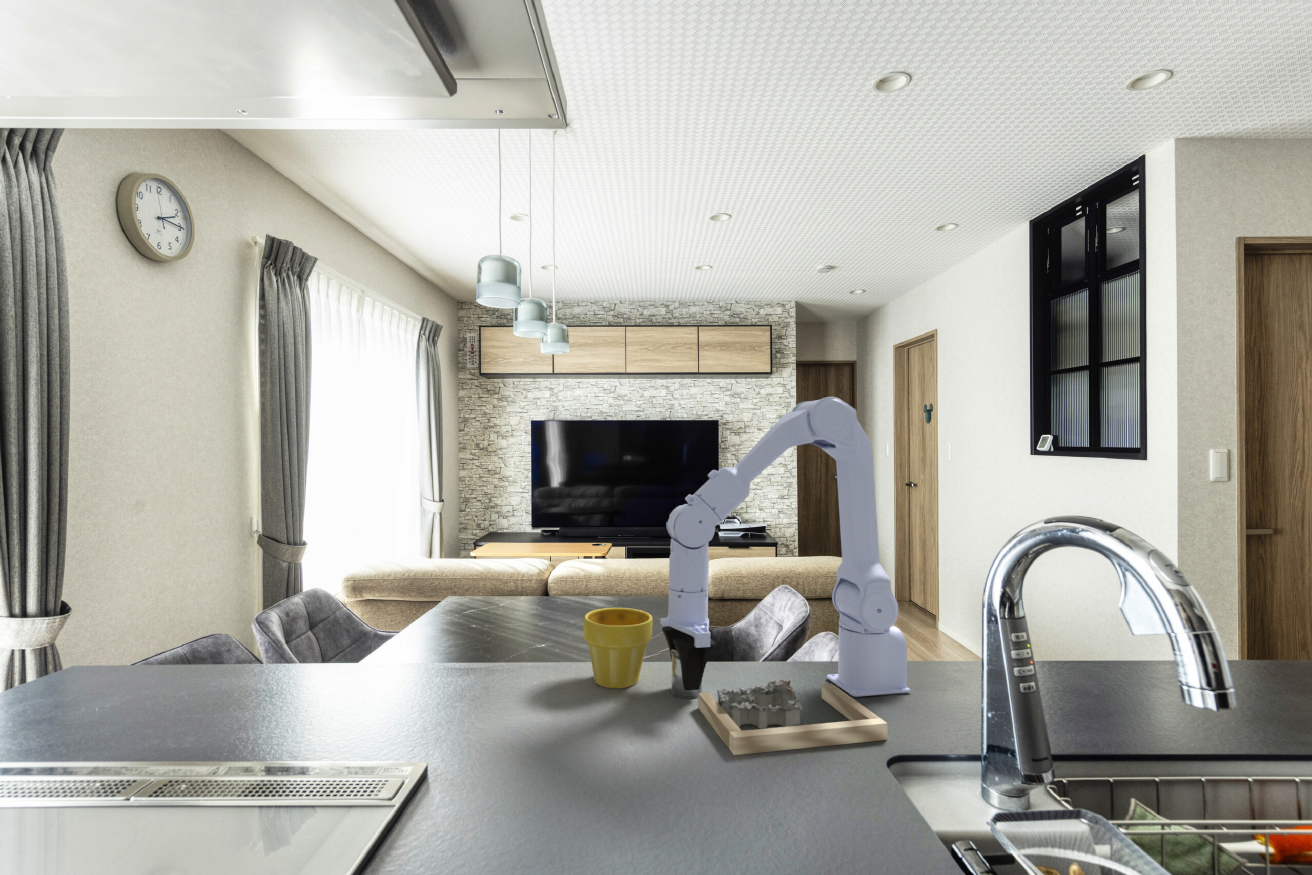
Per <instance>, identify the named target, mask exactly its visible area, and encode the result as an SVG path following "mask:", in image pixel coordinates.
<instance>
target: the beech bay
mask: <svg viewBox="0 0 1312 875" xmlns="http://www.w3.org/2000/svg"><path fill="white" fill-rule="evenodd" d="M821 699H822V700H824V702H826V703H827V704H829V705H830V706H831V707H833V708H834V709H835V710H836V711H838V712H839V713H840V714H841V715H843V717H845V718H847V719H848V720H845V721H835V722H825V723H823V722H822V723H813V724H803V725H802V724H801V725H800V724H799V725H794V726H789V727H783V726H779V727H767V728H758V729H746V730H745V729H744V730H742V729H741V727H740V728H739V727H738V726H737V725H736V724H735V722H734V721H733V720H732V719H731V718H730V717H729V715H728V714H727V713H726V712H725V711H724V710H723V708H722V707H721V706H720V705H719V704H718V700H716V699H715V698H714V696H713V695H712V694H711V693H710V692H702V693H698V697H697V700H698V702H697V708H698V710H699V712H701V714H702V715H703V717H704V718H705V720H706V721H707V722H708V723H709V725H710V726H711V727H712V728H713V729H714V731H715V732H716V734H717V735H718V736H719V738H720V739H721V741H722V742H723V744H725V746H726V747H727V748H728V749H729V751H730V752H731V753H732V755H733V756H740V755H741V756H742V755H749V754H760V753H770V752H778V751H779V752H780V751H787V750H799V749H808V748H820V747H827V746H829V747H830V746H838V745H839V746H840V745H849V744H858V743H866V742H867V743H868V742H869V743H870V742H876V741H877V742H878V741H887V740H888V727H889V726H888V724H889V723H888V722H886V721H885V720H884V719H882V718H881V717H879V716H878V715H877V714H875V713H874V712H873V711H871V710H869V708H866V706H864V705H862V703H860V702H859V701H857V700H856V699H854V698H853V697H851V695H850V694H849V695H848V694H847V692H844V691H843V689H840V687H838V686H837V685H836V684H835V685H834V684H833V682H830V683H821Z"/></svg>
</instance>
